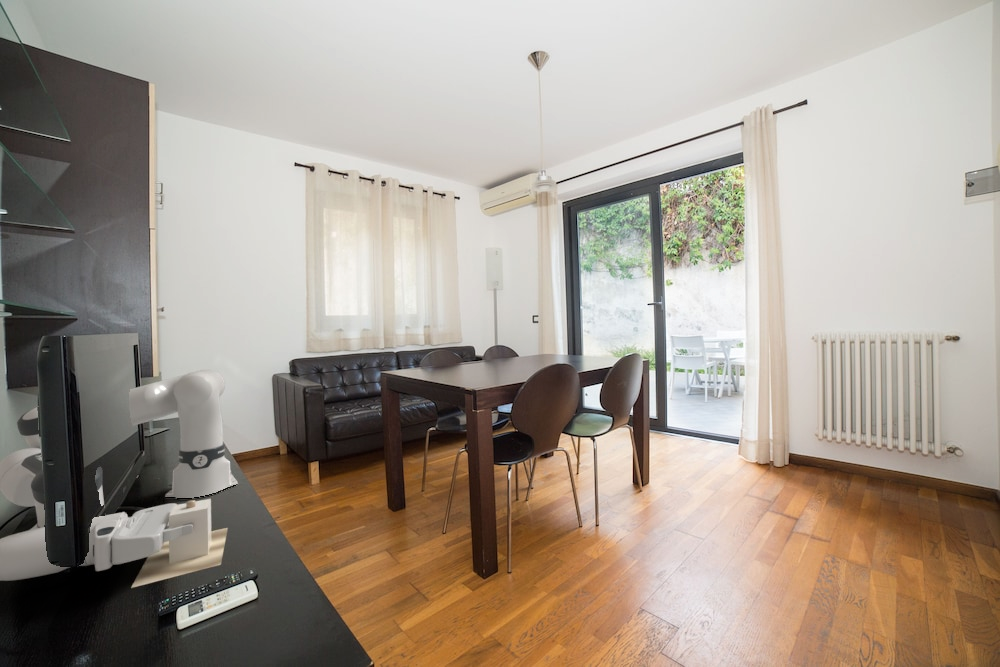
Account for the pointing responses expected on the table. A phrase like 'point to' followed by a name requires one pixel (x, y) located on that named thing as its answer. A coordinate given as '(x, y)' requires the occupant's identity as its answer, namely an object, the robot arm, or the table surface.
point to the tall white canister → (201, 534)
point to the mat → (161, 569)
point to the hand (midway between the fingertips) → (196, 519)
